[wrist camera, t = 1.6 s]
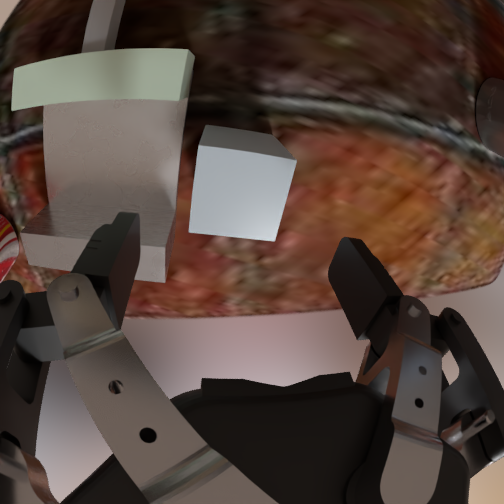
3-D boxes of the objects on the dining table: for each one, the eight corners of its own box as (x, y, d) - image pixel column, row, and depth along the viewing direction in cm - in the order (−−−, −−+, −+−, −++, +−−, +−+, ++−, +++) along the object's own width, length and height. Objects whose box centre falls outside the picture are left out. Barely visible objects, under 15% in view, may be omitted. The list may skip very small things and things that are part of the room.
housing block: (272, 134, 19) (296, 160, 13) (259, 194, 22) (274, 241, 16) (205, 124, 18) (198, 145, 12) (197, 186, 21) (188, 232, 15)
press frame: (193, 70, 15) (183, 65, 11) (174, 238, 23) (165, 282, 18) (51, 77, 13) (6, 83, 8) (57, 227, 21) (29, 264, 16)
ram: (225, -55, 8) (228, -79, 5) (187, 97, 16) (179, 100, 12) (73, -39, 6) (50, -52, 3) (42, 101, 13) (11, 110, 10)
